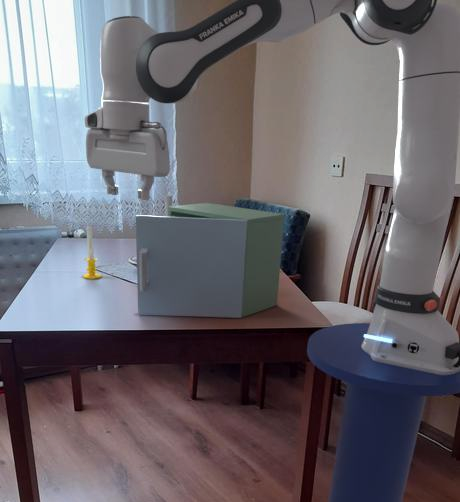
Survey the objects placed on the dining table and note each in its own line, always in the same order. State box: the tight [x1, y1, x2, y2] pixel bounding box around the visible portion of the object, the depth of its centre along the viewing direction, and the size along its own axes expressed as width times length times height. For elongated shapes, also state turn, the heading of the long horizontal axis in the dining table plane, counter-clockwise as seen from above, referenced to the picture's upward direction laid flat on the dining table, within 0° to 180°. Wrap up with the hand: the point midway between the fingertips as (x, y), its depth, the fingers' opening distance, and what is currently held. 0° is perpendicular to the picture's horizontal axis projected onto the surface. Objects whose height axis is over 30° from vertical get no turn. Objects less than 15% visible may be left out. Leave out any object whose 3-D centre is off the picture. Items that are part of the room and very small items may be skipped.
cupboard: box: [168, 202, 286, 318], centre depth 149 cm, size 16×26×24 cm, turn 53°
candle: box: [82, 225, 102, 280], centre depth 167 cm, size 5×5×16 cm
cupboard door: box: [135, 214, 247, 319], centre depth 132 cm, size 6×26×24 cm, turn 93°
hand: (127, 197), depth 111 cm, fingers open, 8 cm apart
